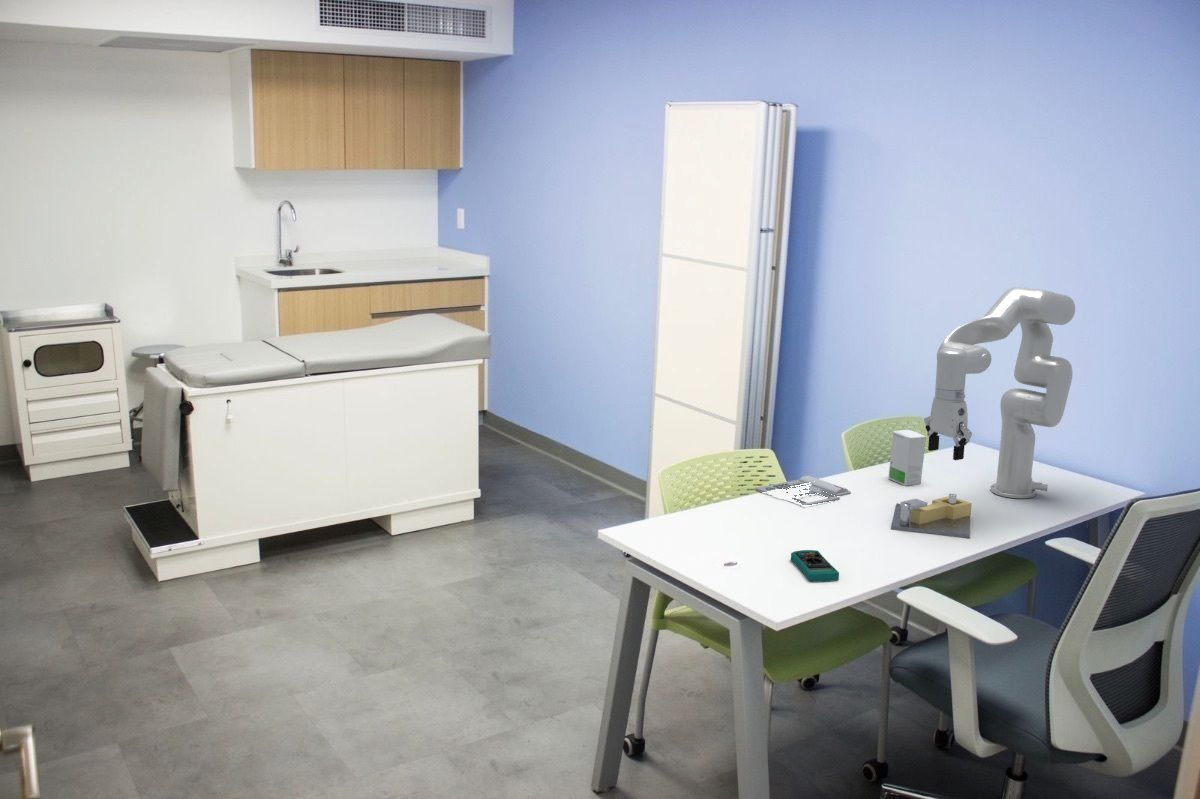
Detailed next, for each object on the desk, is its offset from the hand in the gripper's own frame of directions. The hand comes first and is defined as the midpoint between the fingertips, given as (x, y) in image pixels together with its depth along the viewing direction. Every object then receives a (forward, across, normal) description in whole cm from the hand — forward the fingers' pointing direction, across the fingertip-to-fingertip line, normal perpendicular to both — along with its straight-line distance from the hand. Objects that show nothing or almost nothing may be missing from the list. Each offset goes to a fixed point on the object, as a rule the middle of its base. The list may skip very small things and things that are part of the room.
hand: (945, 454), depth 286 cm
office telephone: (+19, +33, +22) cm, 44 cm away
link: (+17, -2, +3) cm, 17 cm away
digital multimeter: (+17, -18, +55) cm, 61 cm away
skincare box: (+19, +30, -13) cm, 38 cm away
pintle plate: (+18, -2, +5) cm, 19 cm away
